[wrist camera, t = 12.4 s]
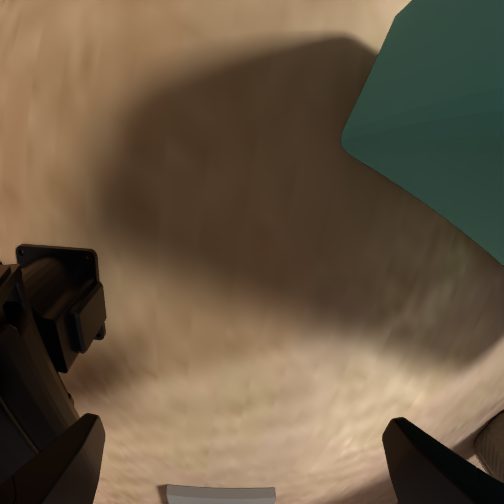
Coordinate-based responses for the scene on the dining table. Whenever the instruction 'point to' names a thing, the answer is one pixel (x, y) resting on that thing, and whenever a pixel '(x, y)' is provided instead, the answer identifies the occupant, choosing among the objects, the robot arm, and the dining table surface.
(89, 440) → the robot arm
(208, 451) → the dining table surface
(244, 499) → the grey flat square slab
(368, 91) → the teal foam block
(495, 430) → the lamp
